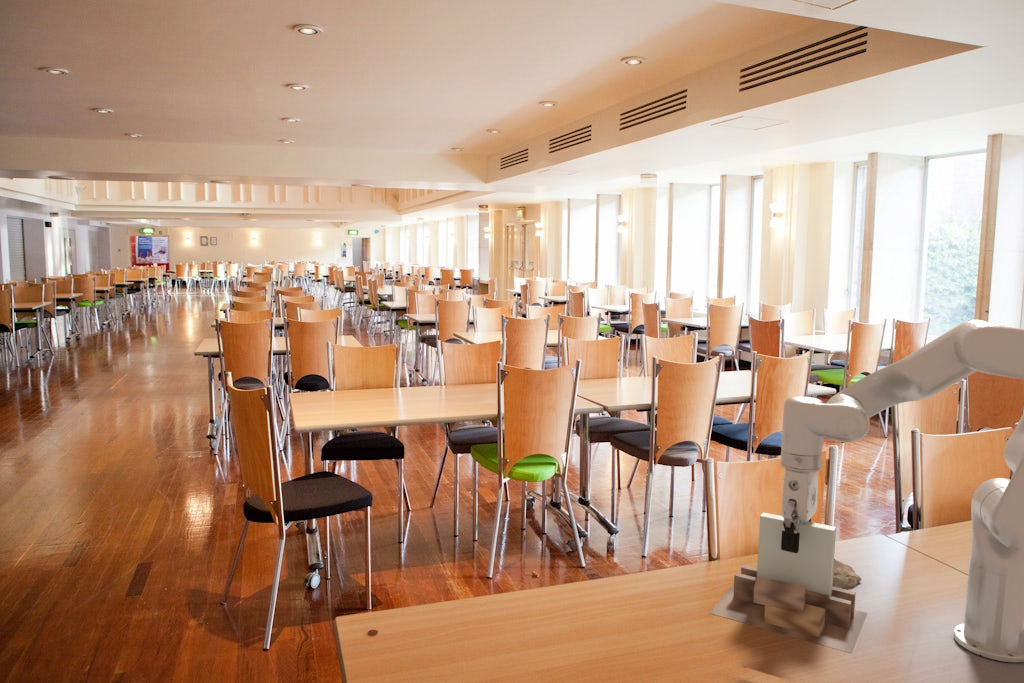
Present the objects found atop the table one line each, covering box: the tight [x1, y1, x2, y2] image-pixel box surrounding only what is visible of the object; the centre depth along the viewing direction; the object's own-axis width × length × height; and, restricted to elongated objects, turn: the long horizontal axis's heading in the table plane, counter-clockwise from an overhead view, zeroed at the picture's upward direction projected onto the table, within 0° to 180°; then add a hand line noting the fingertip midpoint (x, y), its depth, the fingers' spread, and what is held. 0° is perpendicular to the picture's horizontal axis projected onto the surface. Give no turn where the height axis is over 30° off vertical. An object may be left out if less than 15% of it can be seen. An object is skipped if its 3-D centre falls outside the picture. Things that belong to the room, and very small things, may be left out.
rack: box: [709, 564, 868, 654], centre depth 148 cm, size 26×18×6 cm
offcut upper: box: [753, 577, 806, 613], centre depth 145 cm, size 9×4×4 cm, turn 64°
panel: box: [756, 512, 837, 596], centre depth 150 cm, size 14×2×18 cm, turn 56°
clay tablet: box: [832, 558, 862, 589], centre depth 165 cm, size 14×5×20 cm
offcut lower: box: [764, 604, 826, 637], centre depth 144 cm, size 10×5×4 cm, turn 56°
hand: (795, 543), depth 149 cm, fingers open, 9 cm apart
